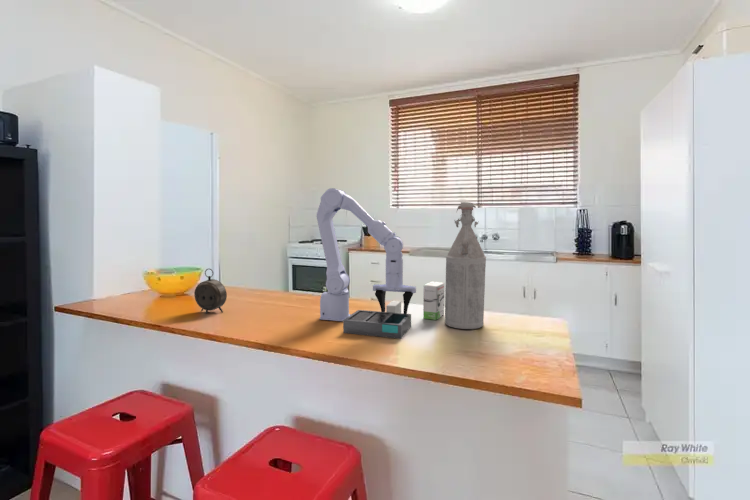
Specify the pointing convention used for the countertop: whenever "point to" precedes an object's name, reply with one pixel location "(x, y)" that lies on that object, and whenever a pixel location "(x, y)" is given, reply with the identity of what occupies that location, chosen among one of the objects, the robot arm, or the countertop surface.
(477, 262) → the grey bottle
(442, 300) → the ink box
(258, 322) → the countertop surface
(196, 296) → the alarm clock
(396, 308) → the block
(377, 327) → the rack
